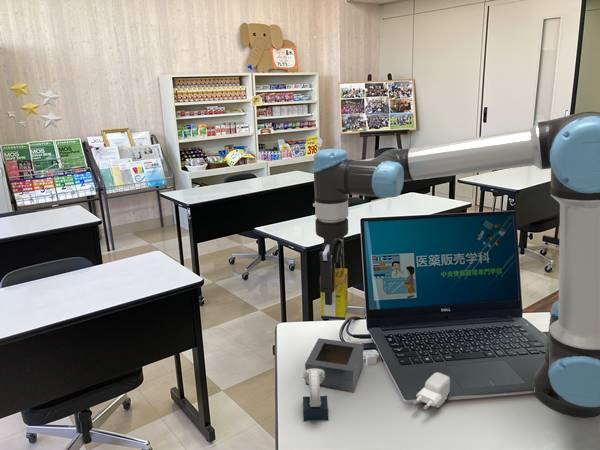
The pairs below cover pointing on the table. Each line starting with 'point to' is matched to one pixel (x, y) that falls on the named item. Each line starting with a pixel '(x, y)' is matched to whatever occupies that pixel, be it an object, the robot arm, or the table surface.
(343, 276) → the supplement box
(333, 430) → the table surface
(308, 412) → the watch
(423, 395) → the power adapter
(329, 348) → the hollow block
